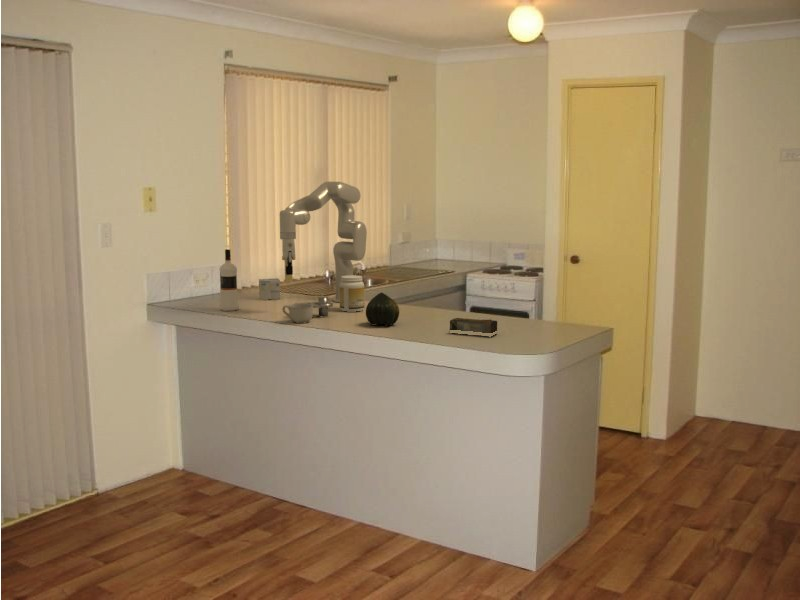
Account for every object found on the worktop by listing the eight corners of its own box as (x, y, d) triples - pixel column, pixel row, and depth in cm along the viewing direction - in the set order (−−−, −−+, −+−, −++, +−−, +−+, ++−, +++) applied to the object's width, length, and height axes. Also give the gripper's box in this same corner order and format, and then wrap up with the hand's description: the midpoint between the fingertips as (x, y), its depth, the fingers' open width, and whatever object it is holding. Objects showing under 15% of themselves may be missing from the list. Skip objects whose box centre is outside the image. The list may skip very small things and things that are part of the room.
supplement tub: (368, 309, 398) (368, 275, 395) (357, 313, 387) (357, 278, 384) (347, 307, 403) (346, 274, 400) (335, 311, 392) (335, 277, 389)
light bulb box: (278, 297, 434) (278, 278, 432) (280, 299, 428) (280, 279, 426) (258, 298, 431) (258, 278, 429) (260, 300, 425) (260, 280, 423)
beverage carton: (455, 330, 347) (456, 315, 346) (498, 334, 339) (498, 319, 338) (449, 334, 340) (449, 318, 339) (491, 338, 331) (492, 322, 330)
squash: (383, 317, 345) (395, 289, 352) (355, 315, 353) (367, 287, 360) (397, 335, 355) (408, 307, 362) (369, 332, 363) (381, 305, 370)
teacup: (316, 320, 367) (316, 303, 366) (306, 325, 357) (306, 307, 356) (289, 318, 371) (289, 302, 370) (278, 323, 361) (278, 305, 360)
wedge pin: (293, 279, 387) (293, 255, 386) (294, 280, 384) (294, 256, 383) (282, 280, 386) (282, 256, 384) (283, 281, 383) (283, 256, 381)
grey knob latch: (330, 314, 384) (330, 295, 383) (334, 317, 375) (334, 298, 374) (294, 315, 379) (294, 297, 378) (298, 319, 370) (297, 300, 369)
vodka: (237, 311, 391) (235, 250, 386) (218, 311, 390) (216, 250, 386) (240, 308, 400) (238, 248, 395) (221, 308, 399) (219, 248, 395)
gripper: (298, 237, 375) (299, 276, 378) (292, 234, 391) (293, 271, 394) (282, 237, 373) (283, 276, 376) (277, 234, 388) (278, 272, 391)
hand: (288, 273), depth 385 cm, fingers closed on wedge pin, 3 cm apart
